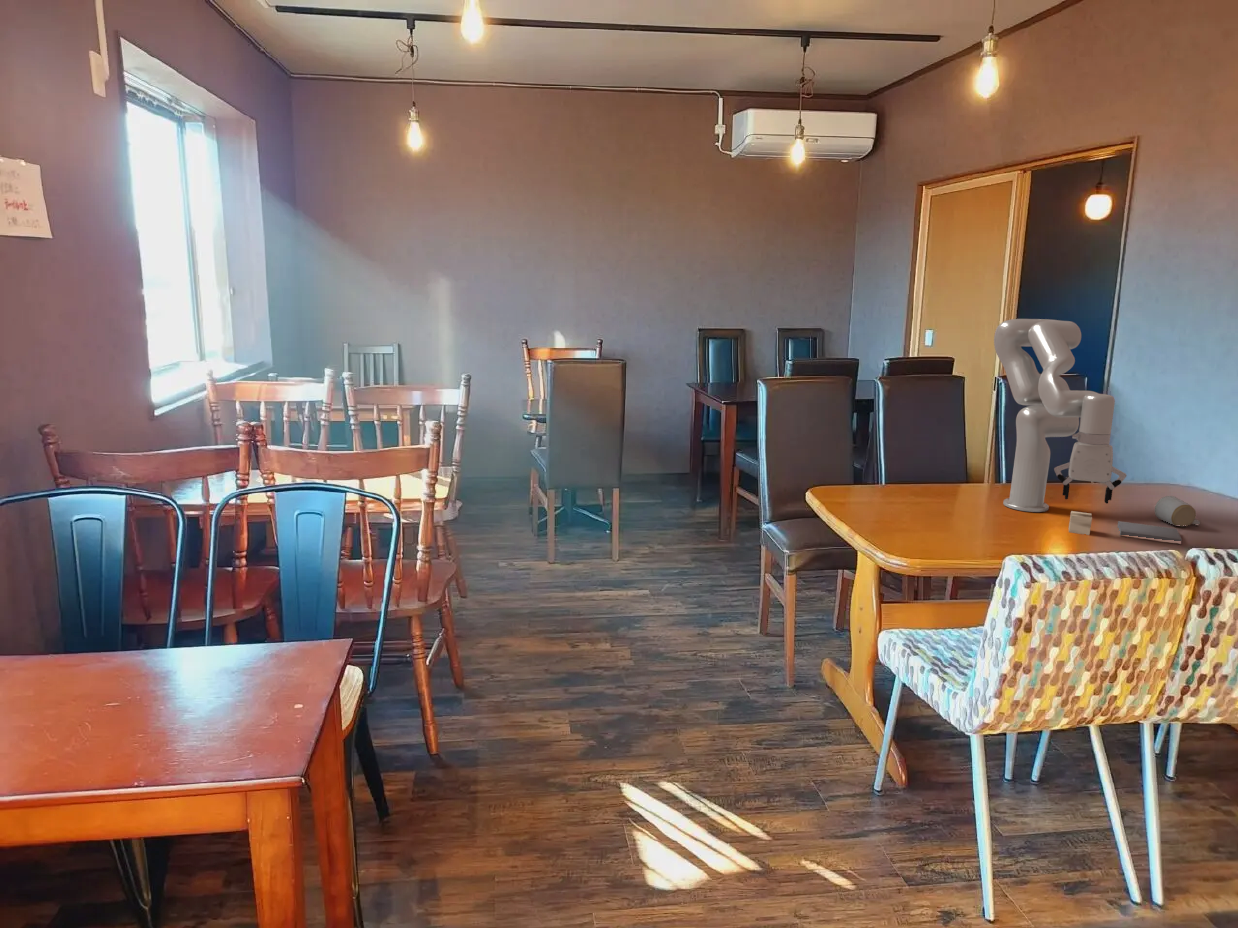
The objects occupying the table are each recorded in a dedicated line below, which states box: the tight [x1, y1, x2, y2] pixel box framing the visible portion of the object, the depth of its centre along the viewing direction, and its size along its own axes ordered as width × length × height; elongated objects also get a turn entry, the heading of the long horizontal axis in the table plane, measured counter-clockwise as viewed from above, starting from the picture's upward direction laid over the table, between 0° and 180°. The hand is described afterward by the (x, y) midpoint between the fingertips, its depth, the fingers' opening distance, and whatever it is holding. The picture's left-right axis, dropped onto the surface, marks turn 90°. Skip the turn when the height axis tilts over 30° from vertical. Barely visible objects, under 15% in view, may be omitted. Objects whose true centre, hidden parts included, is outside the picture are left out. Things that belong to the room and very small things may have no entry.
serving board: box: [1117, 520, 1183, 541], centre depth 225 cm, size 11×14×2 cm
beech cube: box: [1068, 510, 1093, 536], centre depth 227 cm, size 5×5×5 cm
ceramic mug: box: [1154, 495, 1201, 527], centre depth 235 cm, size 11×8×8 cm
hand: (1086, 500), depth 224 cm, fingers open, 9 cm apart
